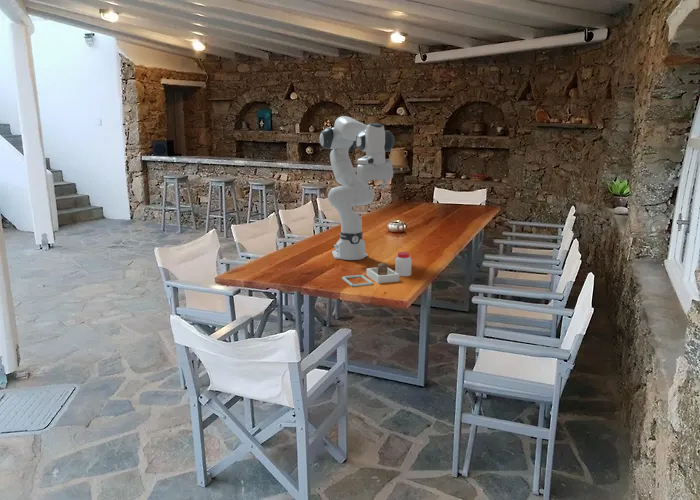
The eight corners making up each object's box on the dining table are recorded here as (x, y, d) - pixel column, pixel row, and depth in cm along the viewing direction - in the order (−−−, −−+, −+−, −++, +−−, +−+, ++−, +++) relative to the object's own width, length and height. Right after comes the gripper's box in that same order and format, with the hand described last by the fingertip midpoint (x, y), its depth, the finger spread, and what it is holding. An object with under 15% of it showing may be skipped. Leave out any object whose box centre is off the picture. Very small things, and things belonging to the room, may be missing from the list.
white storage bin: (366, 276, 254) (366, 268, 253) (386, 274, 257) (386, 266, 256) (378, 285, 241) (378, 276, 240) (399, 282, 244) (399, 274, 243)
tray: (341, 279, 248) (341, 276, 248) (361, 277, 252) (361, 274, 251) (352, 288, 236) (352, 284, 235) (373, 286, 239) (373, 282, 239)
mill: (376, 277, 250) (376, 263, 249) (384, 276, 251) (385, 262, 250) (380, 279, 246) (380, 266, 244) (388, 278, 247) (388, 265, 246)
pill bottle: (410, 273, 260) (410, 251, 257) (412, 277, 252) (412, 255, 249) (394, 273, 259) (394, 251, 257) (396, 277, 252) (396, 255, 249)
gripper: (387, 158, 255) (386, 187, 258) (354, 160, 242) (354, 190, 245) (396, 158, 250) (396, 188, 253) (363, 160, 238) (363, 191, 241)
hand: (375, 189), depth 249 cm, fingers open, 8 cm apart
